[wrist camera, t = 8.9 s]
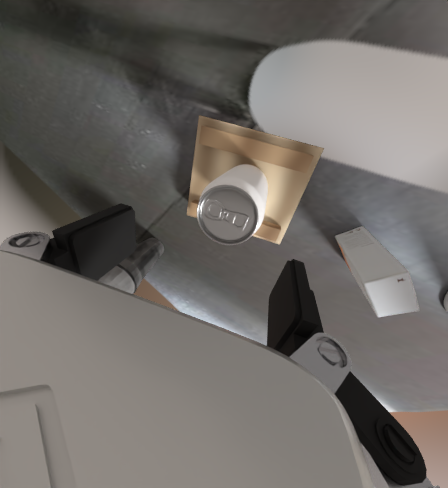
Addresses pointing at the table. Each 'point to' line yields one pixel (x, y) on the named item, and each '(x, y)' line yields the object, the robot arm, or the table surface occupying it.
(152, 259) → the beverage cup
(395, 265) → the skincare box
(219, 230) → the can
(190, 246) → the table surface
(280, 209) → the plinth
